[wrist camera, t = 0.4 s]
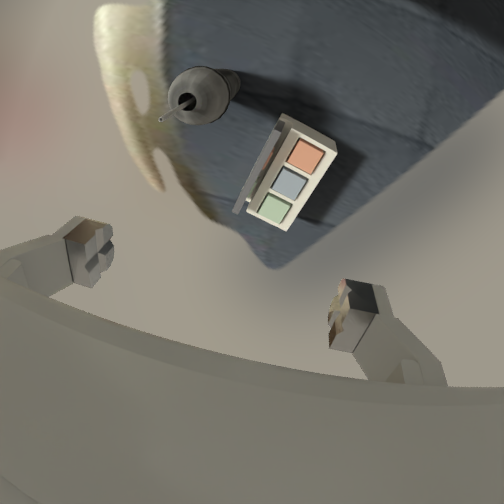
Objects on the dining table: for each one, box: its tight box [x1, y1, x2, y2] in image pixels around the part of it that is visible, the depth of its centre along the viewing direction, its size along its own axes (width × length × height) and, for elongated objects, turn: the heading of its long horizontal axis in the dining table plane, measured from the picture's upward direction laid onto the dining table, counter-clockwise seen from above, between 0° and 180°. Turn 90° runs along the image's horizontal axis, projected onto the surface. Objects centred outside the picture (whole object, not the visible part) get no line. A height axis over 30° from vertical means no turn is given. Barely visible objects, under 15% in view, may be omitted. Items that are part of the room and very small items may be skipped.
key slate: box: [272, 166, 307, 200], centre depth 44 cm, size 4×4×2 cm
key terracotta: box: [288, 137, 324, 174], centre depth 41 cm, size 4×4×2 cm
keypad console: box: [232, 113, 337, 231], centre depth 45 cm, size 15×9×8 cm, turn 156°
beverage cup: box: [159, 66, 241, 125], centre depth 33 cm, size 7×7×20 cm
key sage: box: [258, 192, 291, 224], centre depth 47 cm, size 4×4×2 cm
